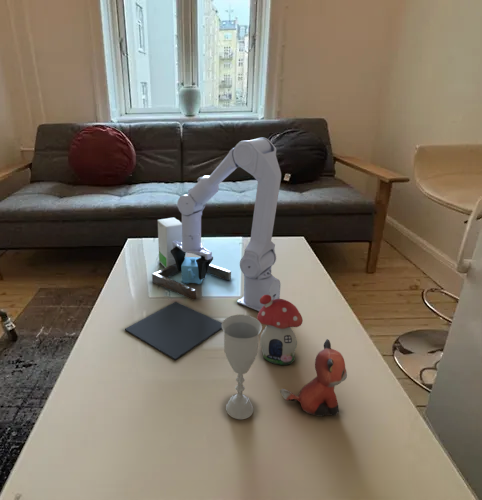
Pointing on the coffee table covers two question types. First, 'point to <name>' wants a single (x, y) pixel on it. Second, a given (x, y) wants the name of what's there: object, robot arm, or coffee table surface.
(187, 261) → the teapot
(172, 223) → the cosmetic box
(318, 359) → the stuffed fox
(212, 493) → the coffee table surface
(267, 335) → the decorative ornament
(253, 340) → the chalice
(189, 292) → the brown u-shaped frame
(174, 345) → the placemat
